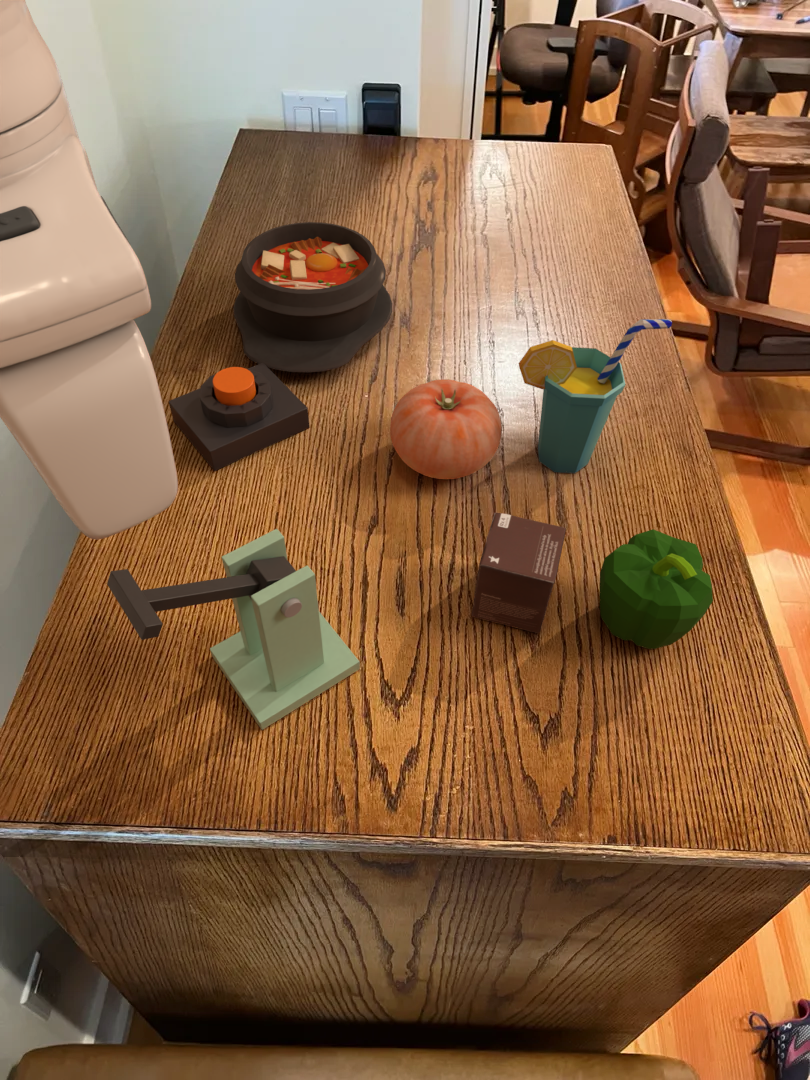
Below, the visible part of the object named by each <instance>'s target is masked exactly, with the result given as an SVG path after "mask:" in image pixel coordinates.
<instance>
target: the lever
mask: <svg viewBox="0 0 810 1080" xmlns="http://www.w3.org/2000/svg"><path fill="white" fill-rule="evenodd" d="M296 571H297V570H296V568H295V567H294V566H293V565H292V564H291V563H290V562H289V560H288V558H287V559H286V558H285V557H284V556H281V557H274V558H267V559H260V560H252V561H251V563H250V566H249V568H248V571H247V573H246V574H245V575H239V576H232V577H226V576H225V577H220V578H212V579H207V580H201V581H194V582H187V583H180V584H174V585H167V586H161V587H153V588H147V589H141V588H140V586H139V584H138V583H137V581H136V579H135V578H134V577H133V575H132V574H131V572H130V571H129V569H128V568H124V569H117V570H111V571H110V573H109V576H108V580H107V583H106V584H107V587H108V588H109V590H110V592H111V593H112V595H113V596H114V598H115V600H116V601H117V603H118V605H119V607H121V609H122V611H123V612H124V614H125V616H126V618H127V619H128V621H129V622H130V624H131V626H132V627H133V629H134V630H135V632H136V634H138V638H140V640H141V641H145V640H149V639H154V638H158V637H160V633H161V630H162V629H163V625H164V623H163V621H162V620H161V619H160V617H159V616H158V614H157V612H163V611H168V610H169V611H170V610H174V609H181V608H186V607H190V606H192V607H193V606H197V605H202V604H204V605H205V604H208V603H214V602H220V601H226V600H232V598H238V597H243V596H249V597H250V599H251V595H253V594H255V593H257V592H259V591H261V590H262V589H264V588H266V587H268V586H270V585H272V584H273V583H275V582H277V581H279V580H281V579H283V578H285V577H286V576H288V575H290V574H292V573H294V572H296ZM251 600H252V599H251Z"/></svg>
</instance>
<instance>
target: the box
mask: <svg viewBox="0 0 810 1080" xmlns="http://www.w3.org/2000/svg"><path fill="white" fill-rule="evenodd" d="M566 530H567V529H566V527H564V526H559V525H555V524H551V523H547V522H543V521H537V520H533V519H528V518H524V517H520V516H516V515H513V514H509V513H503V512H497V511H496V512H494V513H493V517H492V520H491V524H490V526H489V530H488V533H487V536H486V539H485V542H484V546H483V549H482V550H483V551H482V552H481V553H482V554H481V557H480V560H479V563H478V570H477V577H476V582H475V586H474V587H475V589H474V595H473V603H472V608H471V617H472V618H476V619H480V620H483V621H488V622H491V623H497V624H500V625H504V626H508V627H512V628H515V629H516V628H517V629H519V630H523V631H527V632H531V633H535V634H540V633H541V631H542V627H543V623H544V620H545V617H546V613H547V609H548V605H549V601H550V598H551V595H552V593H553V588H554V585H555V583H556V579H557V575H558V570H559V565H560V561H561V555H562V551H563V546H564V541H565V536H566Z"/></svg>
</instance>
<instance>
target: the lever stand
mask: <svg viewBox="0 0 810 1080" xmlns="http://www.w3.org/2000/svg"><path fill="white" fill-rule="evenodd" d="M285 541H286V540H285V536H284V535H283V534H282V532H281V531H280V530H279V529H278V528H275V529H273V530H271V531H269V532H267V533H265V534H263V535H261V536H259V537H257V538H255V539H253V540H251V541H250V542H248V543H246V544H244V545H241V546H239V547H237V548H236V549H234V550H232V551H230V552H227V553H226V554H224V555H221V561H222V565H223V569H224V573H225V578H226V577H232V576H239V575H245V574H246V573H247V571H248V568H249V566H250V563H251V561H252V560H260V559H267V558H274V557H281V556H284V557H285V558H286V559H287V560H288V553H287V548H286V542H285ZM251 599H252V600H251ZM251 599H250V597H249V596H243V597H238V598H232V599H231V601H232V604H233V609H234V612H235V615H236V620H237V623H238V627H239V631H238V632H236V633H235V634H233V635H231V636H229V637H227V638H225V639H224V640H222V641H220V642H219V643H217V644H215V645H213V646H211V647H209V652H210V655H211V657H212V658H213V660H214V661H215V664H216V665H217V666H218V668H219V669H220V671H221V672H222V673H223V675H224V677H225V678H226V680H227V681H228V682H229V684H230V685H231V687H232V688H233V690H234V692H235V693H236V694H237V696H238V697H239V698H240V700H241V701H242V703H243V705H244V706H245V708H246V709H247V710H248V712H249V714H250V715H251V716H252V718H253V720H254V721H255V722H256V723H257V725H258V727H259V729H260V730H261V731H264V730H265V729H267V728H268V727H269V726H272V725H273V724H274V723H276V722H278V721H279V720H281V719H282V718H284V717H286V716H287V715H289V714H291V713H292V712H294V711H295V710H297V709H298V708H300V707H302V706H303V705H305V704H306V703H308V702H309V701H311V700H313V699H314V698H316V697H318V696H319V695H320V694H322V693H324V692H326V691H327V690H329V689H330V688H332V687H333V686H335V685H336V684H338V683H340V682H341V681H343V680H345V679H346V678H348V677H350V676H352V675H353V674H354V673H356V672H358V671H359V670H361V663H360V660H359V659H358V658H357V657H356V655H355V654H354V653H353V651H352V650H351V649H350V648H349V646H348V645H347V644H346V643H345V641H344V640H343V639H342V638H341V637H340V635H339V634H338V633H337V632H336V630H335V629H334V628H333V627H332V625H331V624H330V622H328V620H327V619H326V618H325V617H324V615H323V614H322V613H321V612H320V609H319V600H318V589H317V581H316V574H315V572H314V571H313V570H312V569H311V567H310V566H309V565H304V566H303V567H301V568H299V569H297V570H296V572H294V573H292V574H290V575H288V576H286V577H285V578H283V579H281V580H279V581H277V582H275V583H273V584H272V585H270V586H268V587H266V588H264V589H262V590H261V591H259V592H257V593H255V594H253V595H251Z"/></svg>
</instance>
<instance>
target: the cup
mask: <svg viewBox="0 0 810 1080" xmlns="http://www.w3.org/2000/svg"><path fill="white" fill-rule="evenodd" d="M672 325H673V321H672V319H670V318H653V319H652V318H651V319H645V318H644V319H641V318H640V319H639V320H637V321H636V322H635V323H633V324H632V325H631V326H630V327H629V328H628V329H627V330H626V332H625V333H624V335H623V337H622V338H621V340H620V342H619V343H618V344H617V346H616V347H615V349H614V351H613V353H612V354H611V356H609V355H608V354H606V353H604V352H602V351H601V350H600V349H597V348H593V347H574V346H571V345H567V344H564V343H562V342H559V341H557V340H554V339H551V340H549V341H548V340H547V341H544V342H541V343H539V344H535V345H532V346H529V348H528V349H527V351H526V352H525V354H524V355H523V356H522V358H521V359H520V361H519V362H518V368H519V370H520V374H521V377H522V380H523V383H524V384H525V385H528V386H532V387H534V388H537V389H540V390H542V391H543V392H542V399H541V400H542V402H541V410H540V411H541V412H540V419H539V420H540V422H539V430H538V433H539V434H538V442H537V454H538V462H539V463H541V464H542V465H543V466H545V467H546V468H547V469H549V470H550V471H552V473H559V474H560V473H562V474H576V473H577V472H579V471H581V470H582V469H583V468H585V467H586V466H587V465H589V463H590V461H591V458H592V456H593V454H594V451H595V449H596V446H597V444H598V442H599V439H600V436H601V434H602V432H603V430H604V427H605V425H606V423H607V420H608V418H609V417H610V413H611V412H612V410H613V407H614V405H615V402H616V400H617V397H618V396H619V395H620V394H622V393H623V391H624V389H625V387H626V381H625V375H624V370H623V366H622V363H621V362H620V360H621V359H622V357H623V356H624V354H625V353H626V351H627V349H628V348H629V346H630V344H631V343H632V342H633V340H634V338H635V337H636V335H637V334H638V333H639V332H641V331H644V330H666V329H670V328H672Z"/></svg>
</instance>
